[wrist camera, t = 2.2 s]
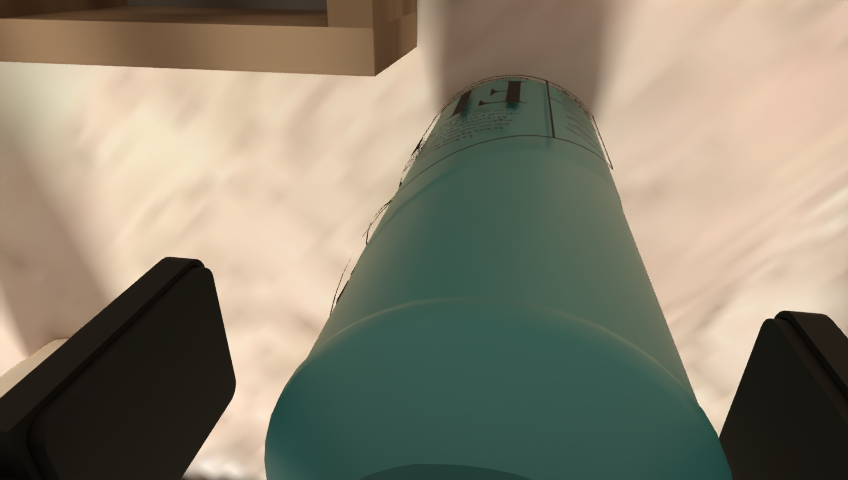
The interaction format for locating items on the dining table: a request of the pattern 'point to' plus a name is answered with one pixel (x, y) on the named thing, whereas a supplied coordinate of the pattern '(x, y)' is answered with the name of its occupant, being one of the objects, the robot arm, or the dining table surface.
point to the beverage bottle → (497, 322)
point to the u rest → (212, 34)
